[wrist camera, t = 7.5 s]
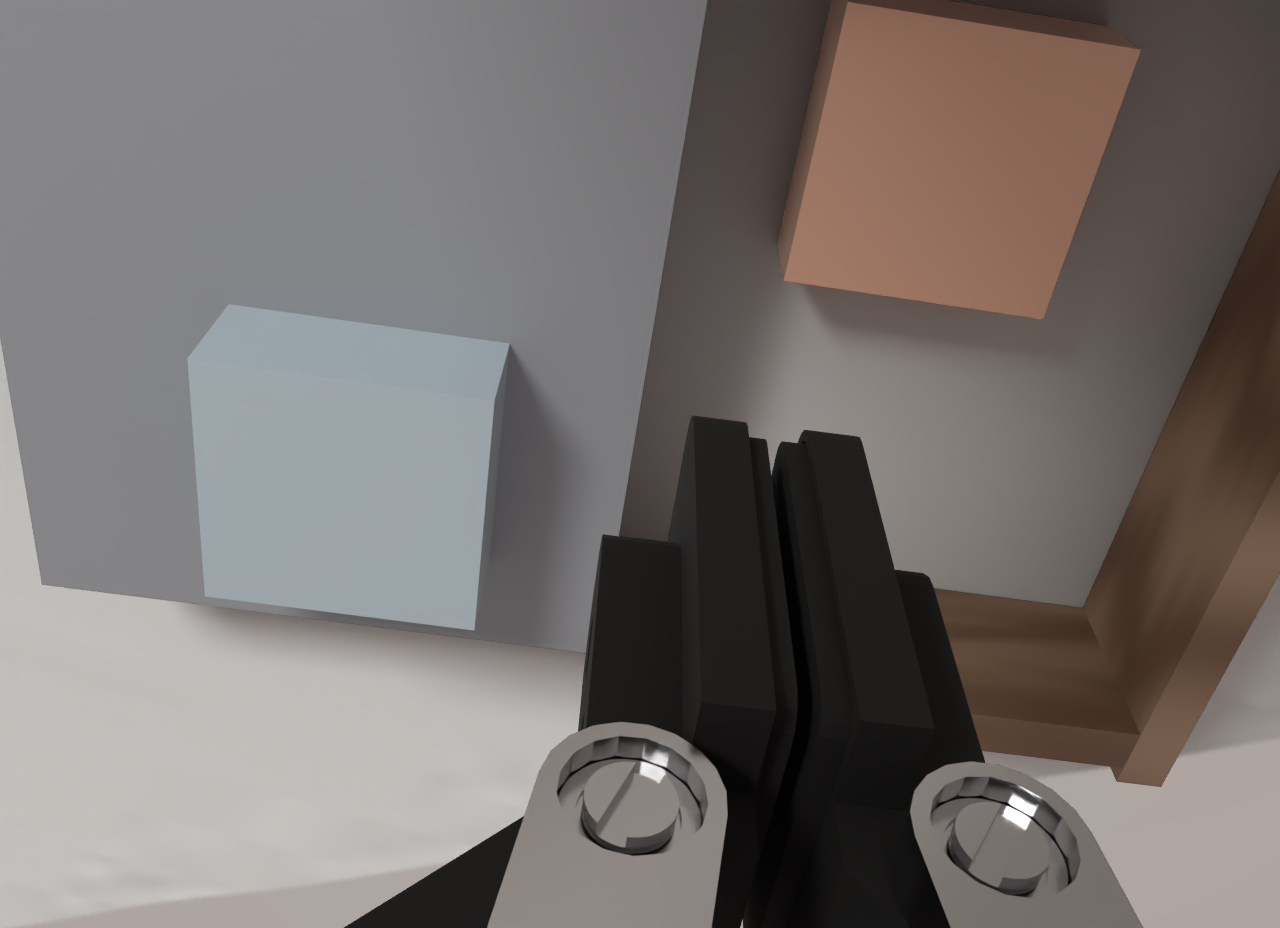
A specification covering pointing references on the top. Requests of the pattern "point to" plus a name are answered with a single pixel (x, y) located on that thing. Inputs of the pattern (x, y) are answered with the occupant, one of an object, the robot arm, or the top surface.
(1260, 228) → the box
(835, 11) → the terracotta tile
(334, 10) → the grey flat block
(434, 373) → the blue-grey tile
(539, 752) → the top surface
